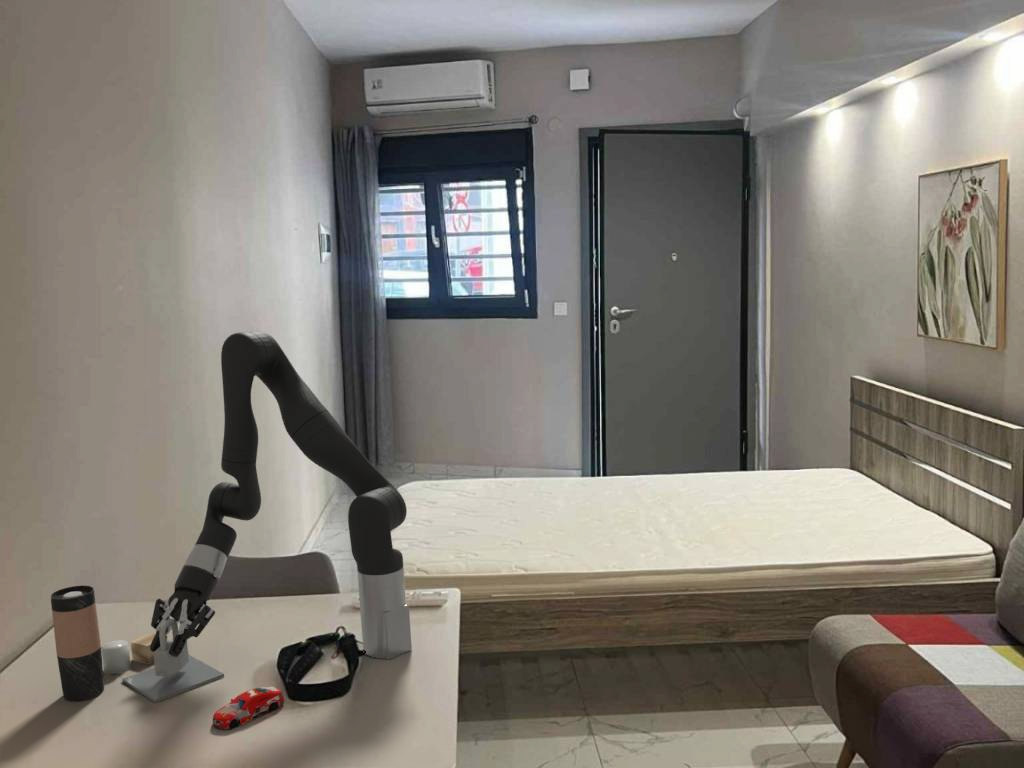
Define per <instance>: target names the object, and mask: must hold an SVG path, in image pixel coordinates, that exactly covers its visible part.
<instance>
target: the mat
mask: <svg viewBox="0 0 1024 768" xmlns="http://www.w3.org/2000/svg"><path fill="white" fill-rule="evenodd" d="M188 656H189V662H188V663H187V664H186V665H185V666H184V667H183V668H182V669H181V670H179V671H178V672H176V673H175V674H173V675H171V676H170V677H163V676H156V671H155V666H154V667H152V668H150V669H146V670H143V671H140V672H138V673H135V674H132V675H129V676H127V677H123V678H121V679H122V680H121V681H122V683H124V684H125V685H126V686H128V687H130V688H131V689H132V690H135V691H137V692H138V693H140V695H142V696H144V697H145V698H147V699H148V700H151V702H153V703H158V702H160V701H164V700H166V699H169V698H172V697H174V696H177V695H180V694H182V693H186V692H187V691H191V690H193V689H195V688H198V687H200V686H203V685H204V686H205V685H206V684H208V683H211V682H214V681H216V680H217V681H218V680H220V679H222V678H224V677H225V673H224V672H222V671H220V670H218V669H216V668H214V667H213V666H210V665H209V664H207V663H206V662H203V661H201V660H200V659H197V658H196V657H194V656H192V655H190V654H188Z"/></svg>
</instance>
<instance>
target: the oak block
mask: <svg viewBox="0 0 1024 768" xmlns="http://www.w3.org/2000/svg"><path fill="white" fill-rule="evenodd" d="M155 634H156V633H151V632H150V633H148V634H146V635H143V636H140V637H138V638H137V639H134V640H132V641H130V647H131V648H130V649H131V656H132V658H131V659H132V661H135V662H139V663H142V664H147V665H151V664H153V663H155V662H154V654H153V653H154V652H152V651H151V650H150V645H151V642H152V640H153V638H154V636H155ZM168 641H169V640H168V637H167V638H166V642H168Z"/></svg>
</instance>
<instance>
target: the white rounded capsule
mask: <svg viewBox="0 0 1024 768" xmlns="http://www.w3.org/2000/svg"><path fill="white" fill-rule="evenodd" d="M101 653H102V666H103V674H105V675H117V674H122V673H124V672H126V671H128V670H129V669H130V668H131V666H132V665H131V658H130V657H131V656H130V649H129V642H128V641H127V640H123V639H117V640H113V641H108V642H106V643H105V644H103V645H101Z"/></svg>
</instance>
